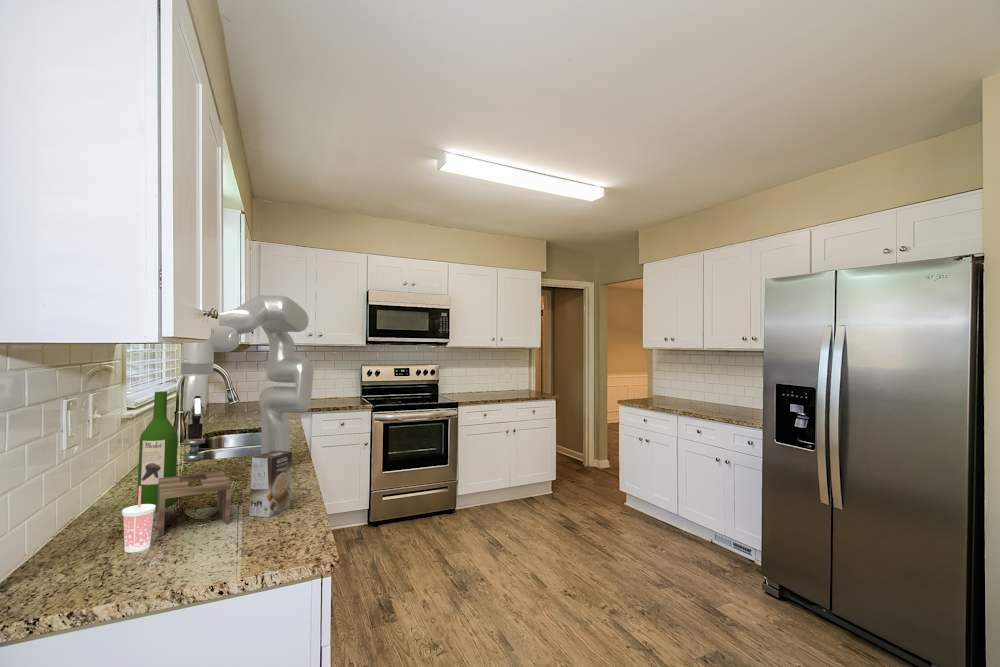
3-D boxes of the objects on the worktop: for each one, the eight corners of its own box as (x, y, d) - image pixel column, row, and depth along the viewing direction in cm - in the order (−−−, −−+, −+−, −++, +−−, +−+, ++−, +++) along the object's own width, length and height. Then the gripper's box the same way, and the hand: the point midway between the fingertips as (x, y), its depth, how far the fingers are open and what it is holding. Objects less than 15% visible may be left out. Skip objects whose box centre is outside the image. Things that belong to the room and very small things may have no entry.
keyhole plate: (157, 515, 128) (158, 478, 128) (221, 505, 137) (222, 470, 137) (158, 536, 114) (160, 494, 114) (229, 523, 123) (230, 484, 123)
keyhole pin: (181, 459, 129) (183, 417, 129) (203, 457, 132) (205, 415, 132) (183, 463, 125) (184, 419, 125) (205, 460, 128) (206, 418, 128)
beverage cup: (157, 541, 111) (160, 481, 112) (148, 552, 105) (151, 488, 106) (126, 544, 109) (129, 483, 110) (115, 555, 103) (118, 491, 104)
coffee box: (269, 518, 127) (271, 458, 128) (248, 516, 129) (250, 456, 129) (291, 507, 136) (292, 451, 137) (271, 505, 138) (273, 449, 138)
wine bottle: (132, 512, 130) (137, 393, 131) (141, 502, 138) (146, 390, 139) (171, 508, 134) (176, 392, 135) (178, 498, 142) (182, 390, 143)
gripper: (178, 369, 134) (175, 434, 133) (182, 371, 121) (179, 444, 120) (209, 369, 138) (207, 432, 137) (216, 371, 125) (213, 441, 124)
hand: (194, 437), depth 129 cm, fingers closed on keyhole pin, 3 cm apart
